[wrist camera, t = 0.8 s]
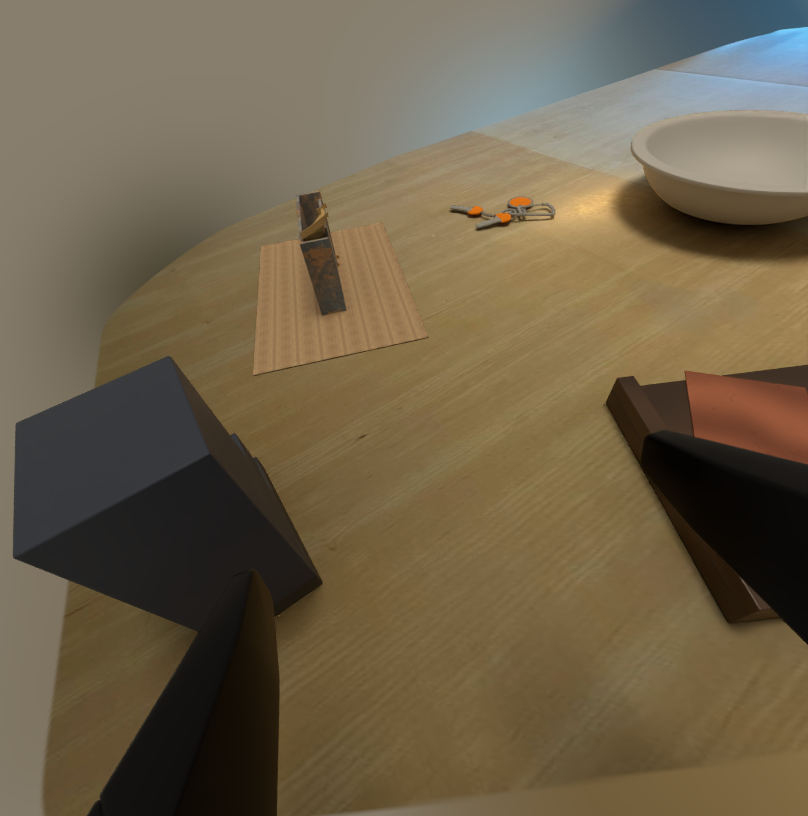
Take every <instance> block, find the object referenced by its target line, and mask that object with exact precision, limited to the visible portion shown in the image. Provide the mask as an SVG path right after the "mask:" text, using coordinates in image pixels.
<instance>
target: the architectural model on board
mask: <svg viewBox="0 0 808 816" xmlns="http://www.w3.org/2000/svg"><path fill="white" fill-rule="evenodd" d="M296 203H297V216H298V229H299V239H297V240H292V241H287V242H282V243H277V244H272V245H267V246H262V247H261V260H260V276H259V292H258V309H257V325H256V341H255V357H254V373H253V375H256V374H261V373H266V372H270V371H275V370H279V369H284V368H289V367H293V366H298V365H302V364H307V363H312V362H316V361H321V360H325V359H330V358H335V357H339V356H344V355H348V354H353V353H358V352H362V351H367V350H371V349H376V348H381V347H385V346H390V345H394V344H399V343H404V342H408V341H413V340H417V339H422V338H426V337H428V335H427V333H426V330H425V328H424V325H423V323H422V320H421V318H420V315H419V313H418V310H417V308H416V306H415V303H414V301H413V298H412V296H411V293H410V291H409V288H408V286H407V283H406V281H405V278H404V276H403V273H402V271H401V268H400V266H399V263H398V261H397V258H396V256H395V253H394V251H393V248H392V246H391V243H390V241H389V238H388V236H387V233H386V231H385V228H384V226H383V223H378V224H373V225H368V226H363V227H358V228H353V229H348V230H342V231H337V232H332V233H330V230H329V226H328V222H327V218H326V217H328V212H327V213H326V214H325V210H324V208H327V206H326V203H325V204H323V201H322V197H321V193H320V191H315V192H310V193H305V194H299V195H296Z"/></svg>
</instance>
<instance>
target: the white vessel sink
mask: <svg viewBox="0 0 808 816" xmlns="http://www.w3.org/2000/svg"><path fill="white" fill-rule="evenodd" d="M631 152H632V154H633V156H634V157H635V159H636V160H637V161H639V162H640V163H641V164H642V165H643V169H644V172H645V175H646V178H647V180H648V182H649V184H650V186H651V187H652V189H653V190H654V191H655V192H656V194H657V195H658V196H659V197H660V198H661V199H662V200H663V201H665V202H666V203H667V204H669V205H670V206H672V207H673V208H675V209H677V210H679V211H681V212H683V213H686V214H688V215H691V216H694V217H697V218H701V219H704V220H709V221H714V222H720V223H727V224H739V225H761V224H773V223H780V222H786V221H791V220H795V219H799V218H803V217H806V216H808V114H803V113H794V112H783V111H764V110H730V111H713V112H703V113H695V114H688V115H683V116H677V117H673V118H669V119H666V120H662V121H659V122H656V123H653V124H651V125H649V126H647V127H645V128H643V129H642V130H640V131H639V132H638V133H637V134H636V135H635V136H634V138H633V139H632V142H631Z"/></svg>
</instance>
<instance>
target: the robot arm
mask: <svg viewBox="0 0 808 816" xmlns="http://www.w3.org/2000/svg"><path fill="white" fill-rule="evenodd" d="M640 465H641V468H642V470H643V472H644V473H645V474H646V475H647V477H648V478H649V479H650V480H651V481H652V483H653V484H654V485H655V486H656V487H657V489H658V490H659V491H660V492H661V493H662V495H663V496H664V497H665V498H666V499H667V501H668V502H669V503H670V504H671V505H672V507H673V508H674V509H675V510H676V511H677V513H678V514H679V515H680V516H681V517H682V518H683V520H684V521H685V522H686V523H687V524H688V525H689V526H690V527H691V528H692V529H693V531H694V532H695V533H696V534H697V535H698V536H699V537H700V538H701V539H702V540H703V541H704V542H705V543H706V544H707V545H708V546H709V547H710V548H711V549H712V550H713V551H714V552H715V553H716V554H717V555H718V556H719V557H720V558H721V559H722V560H723V561H724V562H725V563H726V564H727V565H728V566H729V567H730V568H731V569H732V570H733V571H734V572H735V573H736V574H737V575H738V576H739V577H740V578H741V579H742V580H743V581H744V582H745V583H746V584H747V585H748V586H749V587H750V588H751V589H752V590H753V591H754V592H755V593H756V594H757V595H758V596H759V597H760V598H761V599H762V600H763V601H764V602H765V603H766V604H767V605H768V606H769V607H770V608H771V609H772V610H773V611H774V612H775V613H776V614H777V615H778V616H779V617H780V618H781V619H782V620H783V621H784V622H785V623H786V624H787V625H788V626H789V627H790V628H791V629H792V630H793V631H794V632H795V633H796V634H797V635H798V636H799V637H800V638H801V639H802V640H803V641H804V642H805V643H806V644H807V645H808V464H804V463H800V462H796V461H792V460H788V459H784V458H780V457H776V456H772V455H768V454H764V453H760V452H755V451H751V450H747V449H743V448H739V447H735V446H731V445H727V444H723V443H719V442H715V441H711V440H706V439H702V438H698V437H694V436H690V435H686V434H682V433H678V432H674V431H670V430H665V429H662V430H657V431H655V432H652V433H649V434H647V435H645V437H644V439H643V444H642V450H641V457H640ZM278 738H279V666H278V654H277V643H276V631H275V619H274V607H273V600H272V596H271V593H270V591H269V589H268V588H267V586H266V584H265V583H264V581H263V580H262V578H261V576H260V575H259V573H258V572H257V571H256V570H255V569H251V570H248V571H245V572H242V573H239V574H236V575H235V576H234V577H233V578H232V579H231V580H230V582H229V584H228V585H227V587H226V589H225V590H224V592H223V593H222V595H221V597H220V598H219V600H218V602H217V603H216V605H215V607H214V608H213V610H212V611H211V613H210V615H209V616H208V618H207V620H206V621H205V623H204V625H203V626H202V628H201V630H200V631H199V633H198V634H197V636H196V638H195V639H194V641H193V643H192V644H191V646H190V648H189V649H188V651H187V653H186V654H185V656H184V657H183V659H182V661H181V662H180V664H179V666H178V667H177V669H176V671H175V672H174V674H173V675H172V677H171V679H170V680H169V682H168V684H167V685H166V687H165V689H164V690H163V692H162V694H161V695H160V697H159V698H158V700H157V702H156V703H155V705H154V707H153V708H152V710H151V712H150V713H149V715H148V717H147V718H146V720H145V721H144V723H143V725H142V726H141V728H140V730H139V731H138V733H137V735H136V736H135V738H134V739H133V741H132V743H131V744H130V746H129V748H128V749H127V751H126V753H125V754H124V756H123V758H122V759H121V761H120V762H119V764H118V766H117V767H116V769H115V771H114V772H113V774H112V776H111V777H110V779H109V781H108V782H107V784H106V785H105V787H104V789H103V790H102V792H101V794H100V800H98V801H96V802H95V803H94V805H93V806H92V808H91V810H90V811H89V813H88V815H87V816H277V782H278Z"/></svg>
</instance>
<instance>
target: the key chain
mask: <svg viewBox="0 0 808 816" xmlns="http://www.w3.org/2000/svg"><path fill="white" fill-rule="evenodd" d="M538 205H542V206H545V205H546V206H548V207H549V208H550V209H551V210H552V213H527V212H526V208H529V207H531V206H538ZM508 206H509V207H511V208H515V209H517V210H514V209H505V210H503V211H502V212H501V213H500V214H497V215H492V214H486V213H484V212H482V211H483V209H482V208H481V207H478V206H474V207H464V206H462V207H461V206H456V205H452V206H450V209H456V210H462V211H467V212H468V214H471V215H476V214H480V213H481V214H482V215H485V216H488V217H489V216H490V217H495V218H494V219H491V220H488V221H485V222H481V223H478V224H476V227H478V228H482V227H483V226H487V225H489V226H490V225H491V224H493V223H498V222H501V223H505V222H508V221H510V219H511V218H512V217H514V216H551V215H554V214H555V209H554V207H553V206H552V205H550V204H549V203H542V204H535V205H533V200H532V199H530V198H527V197H515V198H512V199H510V200H509V201H508ZM506 211H509V212H508V214H507V213H504V212H506ZM516 212H519V213H516Z"/></svg>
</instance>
